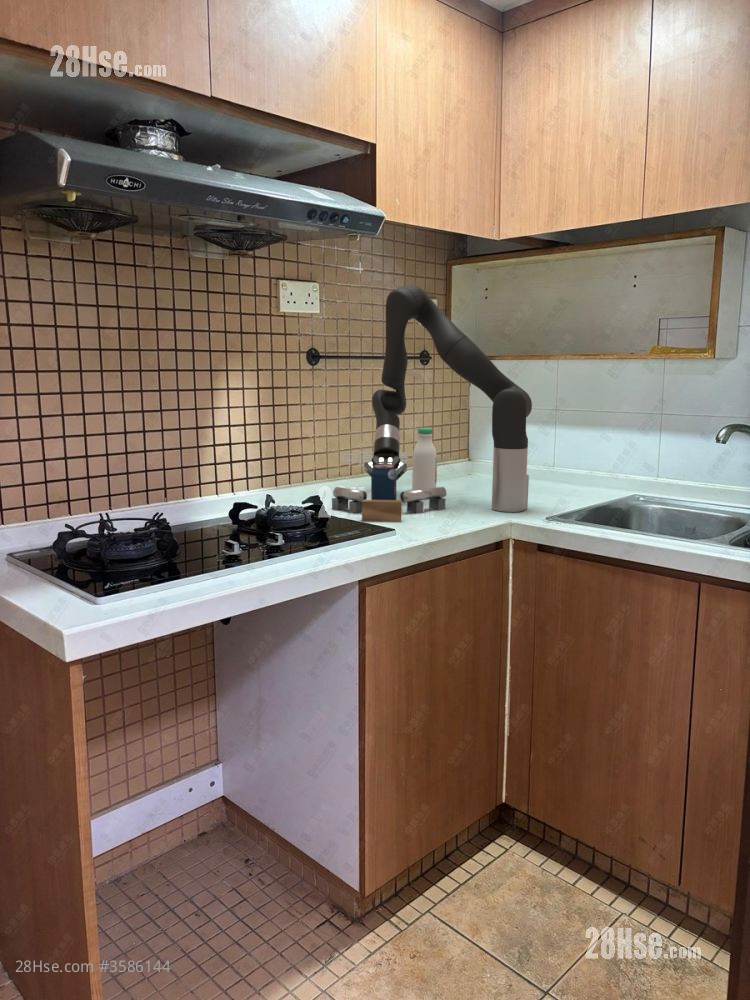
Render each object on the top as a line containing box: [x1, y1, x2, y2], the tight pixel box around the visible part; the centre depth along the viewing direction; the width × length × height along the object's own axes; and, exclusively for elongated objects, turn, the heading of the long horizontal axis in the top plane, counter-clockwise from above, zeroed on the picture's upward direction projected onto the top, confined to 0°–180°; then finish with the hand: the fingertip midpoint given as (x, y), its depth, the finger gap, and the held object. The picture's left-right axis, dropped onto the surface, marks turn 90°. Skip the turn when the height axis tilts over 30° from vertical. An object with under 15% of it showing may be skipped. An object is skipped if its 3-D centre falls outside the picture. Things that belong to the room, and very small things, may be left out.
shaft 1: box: [331, 486, 368, 514], centre depth 195 cm, size 10×4×6 cm, turn 47°
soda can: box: [370, 463, 397, 500], centre depth 197 cm, size 7×7×12 cm
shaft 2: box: [399, 486, 447, 514], centre depth 196 cm, size 14×4×6 cm, turn 127°
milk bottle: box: [411, 427, 438, 490], centre depth 228 cm, size 8×8×20 cm
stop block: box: [361, 499, 403, 523], centre depth 183 cm, size 3×10×5 cm, turn 87°
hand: (384, 491), depth 201 cm, fingers closed
